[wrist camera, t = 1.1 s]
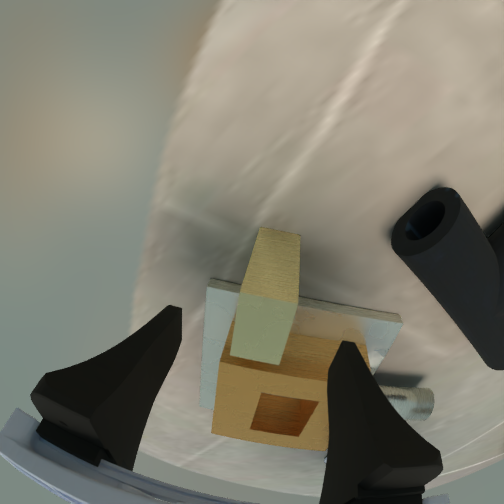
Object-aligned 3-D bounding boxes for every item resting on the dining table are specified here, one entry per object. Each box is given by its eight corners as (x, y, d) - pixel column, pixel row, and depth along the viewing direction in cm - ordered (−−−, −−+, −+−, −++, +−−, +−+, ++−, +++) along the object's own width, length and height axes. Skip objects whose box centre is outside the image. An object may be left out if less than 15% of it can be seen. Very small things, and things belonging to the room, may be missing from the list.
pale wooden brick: (287, 287, 21) (279, 365, 15) (250, 280, 21) (229, 355, 15) (300, 235, 19) (298, 303, 13) (260, 226, 19) (239, 291, 13)
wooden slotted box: (385, 425, 27) (390, 463, 23) (202, 398, 29) (188, 438, 24) (460, 324, 20) (481, 368, 16) (210, 278, 21) (188, 325, 17)
